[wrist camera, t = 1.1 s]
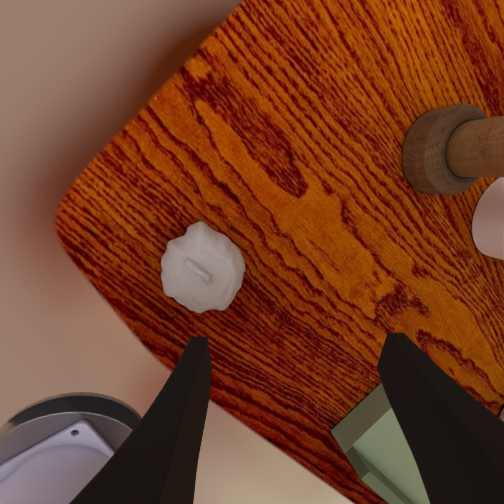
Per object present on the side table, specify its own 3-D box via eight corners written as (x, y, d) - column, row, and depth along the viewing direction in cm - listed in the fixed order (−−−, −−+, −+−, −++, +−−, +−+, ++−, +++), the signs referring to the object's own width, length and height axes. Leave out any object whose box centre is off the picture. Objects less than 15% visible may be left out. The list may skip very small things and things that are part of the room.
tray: (330, 430, 29) (361, 480, 24) (395, 368, 29) (439, 405, 25) (439, 530, 39) (476, 578, 34) (487, 483, 39) (530, 524, 35)
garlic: (145, 233, 20) (138, 252, 15) (221, 208, 21) (238, 218, 16) (177, 309, 22) (180, 348, 17) (245, 282, 23) (267, 312, 18)
